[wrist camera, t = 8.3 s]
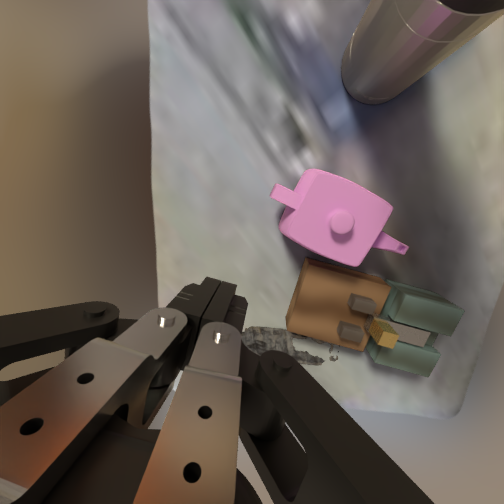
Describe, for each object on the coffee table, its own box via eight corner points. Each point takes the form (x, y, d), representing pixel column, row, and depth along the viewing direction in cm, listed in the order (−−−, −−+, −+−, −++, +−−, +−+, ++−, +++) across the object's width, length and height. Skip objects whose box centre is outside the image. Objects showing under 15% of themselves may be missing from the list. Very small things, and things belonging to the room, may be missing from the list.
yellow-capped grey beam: (369, 311, 35) (384, 329, 31) (423, 326, 35) (446, 347, 30) (363, 325, 36) (377, 346, 31) (416, 340, 36) (438, 362, 31)
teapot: (399, 208, 36) (447, 215, 26) (361, 270, 38) (392, 298, 28) (287, 155, 35) (293, 142, 25) (257, 222, 38) (252, 233, 28)
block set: (305, 257, 38) (311, 269, 33) (435, 292, 38) (464, 310, 32) (285, 317, 41) (287, 338, 35) (406, 351, 41) (428, 377, 35)
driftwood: (223, 352, 45) (221, 360, 43) (225, 319, 43) (223, 325, 41) (338, 365, 44) (341, 373, 42) (344, 331, 42) (348, 338, 40)
